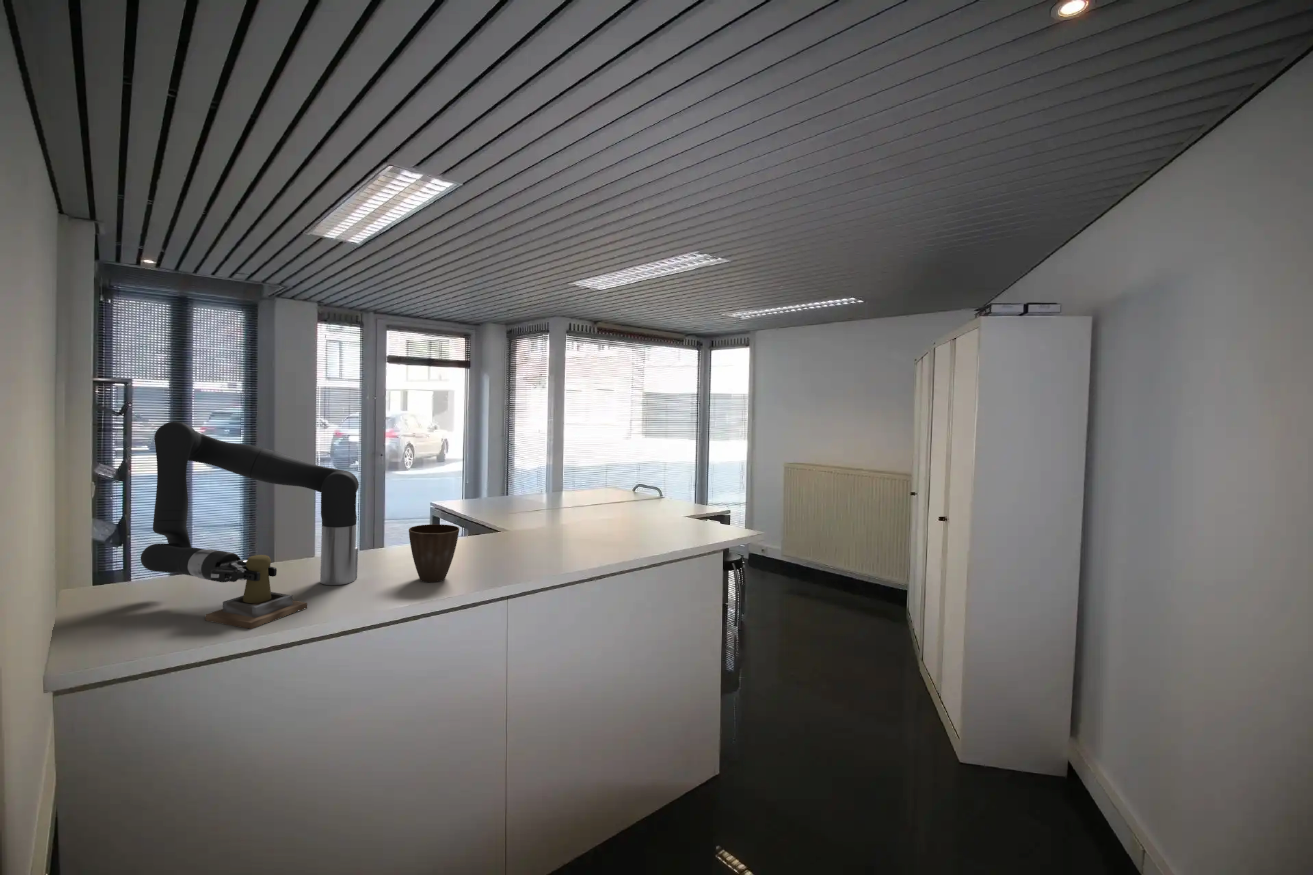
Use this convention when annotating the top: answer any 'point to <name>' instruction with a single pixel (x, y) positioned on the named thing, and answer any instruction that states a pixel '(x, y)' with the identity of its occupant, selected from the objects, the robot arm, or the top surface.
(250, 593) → the cork
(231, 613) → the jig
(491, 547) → the top surface
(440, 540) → the plant pot
